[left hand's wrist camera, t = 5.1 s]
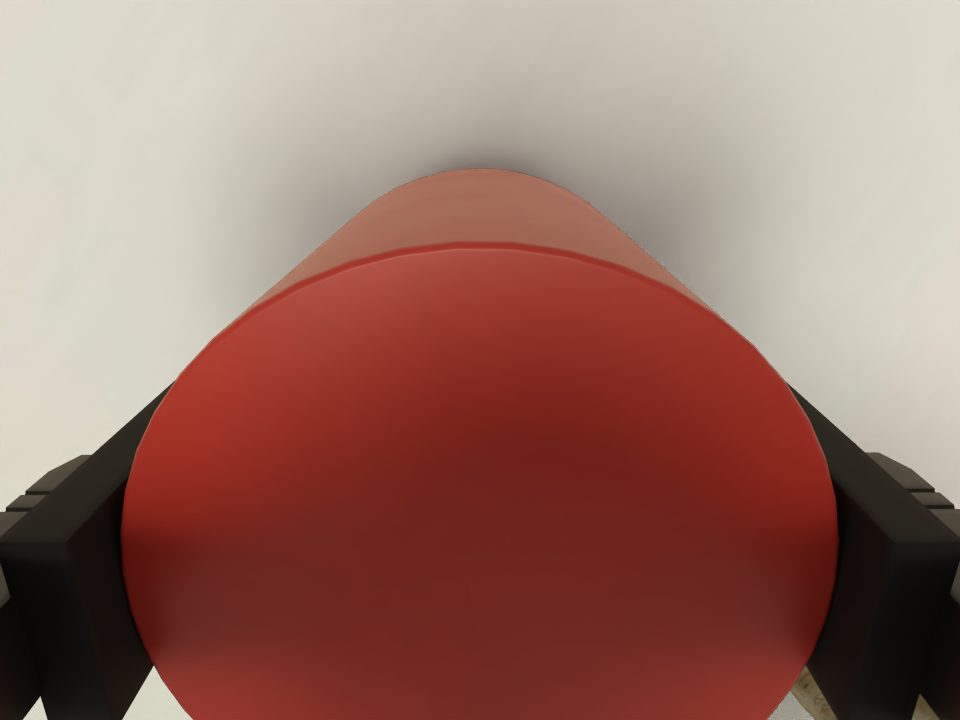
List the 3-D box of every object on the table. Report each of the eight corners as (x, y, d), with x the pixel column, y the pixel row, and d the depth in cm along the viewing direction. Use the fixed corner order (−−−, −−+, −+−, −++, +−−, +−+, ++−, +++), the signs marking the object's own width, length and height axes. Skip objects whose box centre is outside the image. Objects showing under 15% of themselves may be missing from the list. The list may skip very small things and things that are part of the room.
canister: (665, 157, 15) (899, 218, 7) (650, 496, 18) (797, 829, 10) (276, 178, 15) (24, 264, 7) (327, 510, 18) (198, 851, 10)
